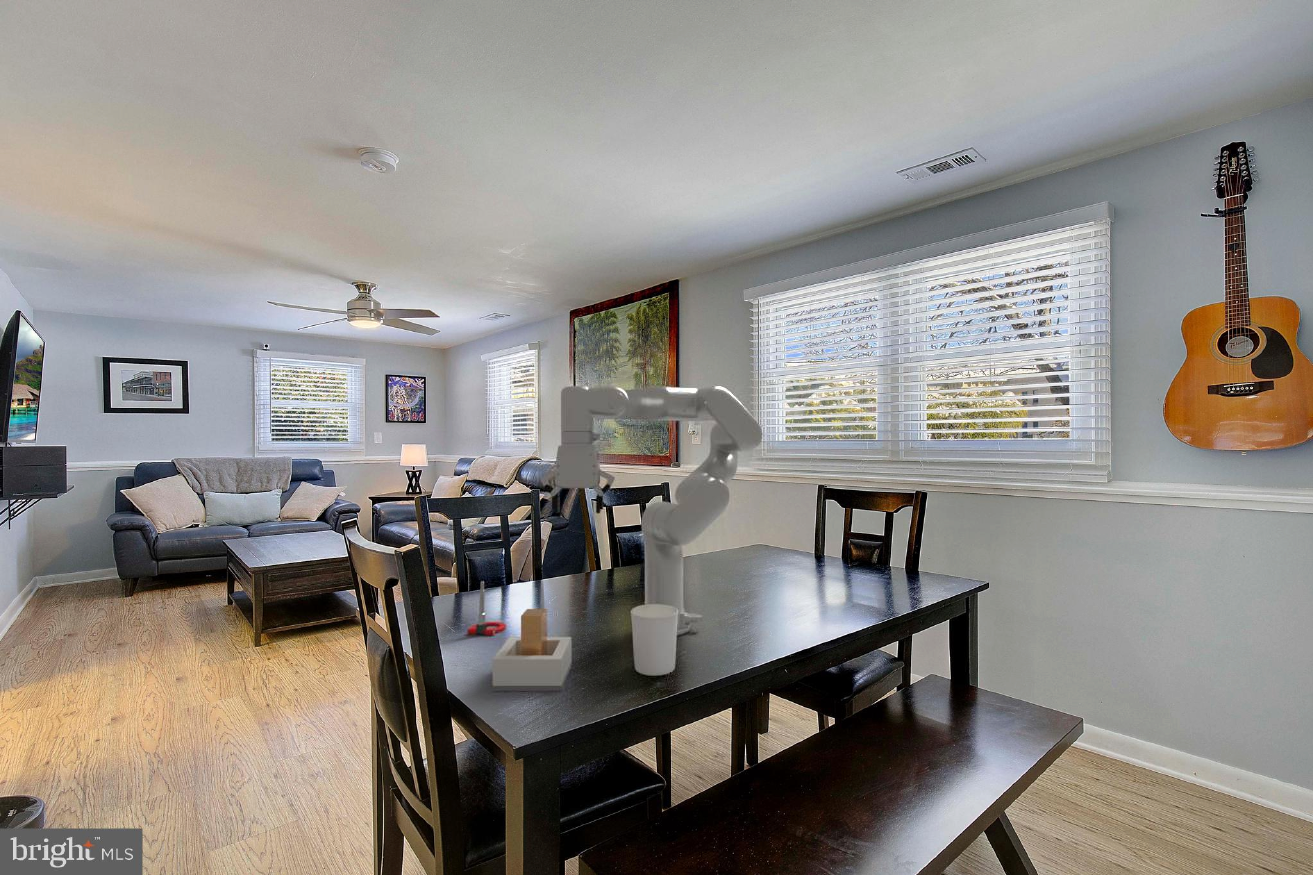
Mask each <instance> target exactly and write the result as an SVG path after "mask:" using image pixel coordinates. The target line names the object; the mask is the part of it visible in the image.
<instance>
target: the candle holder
mask: <svg viewBox="0 0 1313 875" xmlns="http://www.w3.org/2000/svg"><path fill="white" fill-rule="evenodd" d="M630 615H631V616H630V617H631V628H632V629H631V631H632V648H633V649H632V650H633V660H634V661H633V662H634V669H635V671H636V672H638V673H639V674H642V675H645V676H657V677H658V676H663V675H668V674H670V672H671V673H672V672H673V671H674V670H675V668H676V659H677V658H676V657H677V656H676V655H677V637H678V635H677V619H678V609H677V608H675V607H673V606H669V605H662V604H648V605H645V604H641V605H637V606H635V607H633V608H632V609H631V610H630Z"/></svg>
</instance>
